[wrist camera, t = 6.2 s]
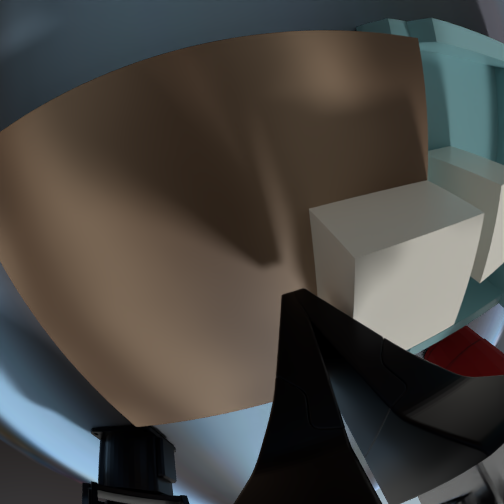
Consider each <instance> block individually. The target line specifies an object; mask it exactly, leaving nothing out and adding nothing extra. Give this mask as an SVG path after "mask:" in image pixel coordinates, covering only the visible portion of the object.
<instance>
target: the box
mask: <svg viewBox="0 0 504 504" xmlns="http://www.w3.org/2000/svg"><path fill="white" fill-rule="evenodd" d="M356 31H362V32H375V33H385V34H394V35H401V36H408V37H414V38H418V41H419V47H420V53H421V59H422V66H423V74H424V83H425V93H426V105H427V123H428V151H430V150H434V149H439V148H443V147H448V146H452V147H455V148H458V149H461V150H464V151H467V152H470V153H473V154H476V155H478V156H481V157H484V158H486V159H489V160H492V161H494V162H497V163H499V164H502V165H504V44H503V43H501V42H499V41H496V40H494V39H492V38H489V37H487V36H485V35H482V34H480V33H477V32H474V31H472V30H469V29H466V28H463V27H460V26H458V25H454V24H451V23H448V22H445V21H442V20H438V19H435V18H426V19H419V20H412V21H402V20H396V19H389V18H387V19H383V20H379V21H375V22H371V23H368V24H364V25H361V26H357V27H356ZM498 303H499V304H500V305H501V306H502V307H503V308H504V263H503V264H502V265H501V266H499V267H498V268H497V269H496V270H495V271H494V272H493V273H492V274H490V275H489V276H488V277H487V278H486V279H485V280H483V281H482V282H481V283H479V282H477V281H476V280H475V279H473V278H472V277H471V276H470V278H469V282H468V285H467V288H466V291H465V294H464V298H463V301H462V303H461V306H460V309H459V312H458V315H457V318H456V320H455V323H454V325H452V326H450V327H449V328H447V329H445V330H444V331H442V332H440V333H438V334H436V335H435V336H433V337H431V338H429V339H427V340H425V341H423V342H422V343H420V344H418V345H416V346H414V347H412V348H410V349H408V350H406V351H408V352H410V353H412V354H416V353H418V352H420V351H422V350H424V349H426V348H428V347H429V346H431V345H433V344H435V343H437V342H438V341H440V340H442V339H444V338H445V337H447V336H449V335H451V334H452V333H454V332H456V331H457V330H459V329H461V328H462V327H464V326H465V325H467V324H469V323H470V322H472V321H473V320H475V319H476V318H478V317H479V316H481V315H482V314H484V313H485V312H487V311H488V310H490V309H491V308H492V307H494V306H495V305H497V304H498Z"/></svg>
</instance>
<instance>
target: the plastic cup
mask: <svg viewBox="0 0 504 504" xmlns="http://www.w3.org/2000/svg"><path fill="white" fill-rule="evenodd" d="M424 359H425V360H427V361H429V362H431V363H433V364H436V365H438V366H440V367H442V368H444V369H447V370H449V371H451V372H453V373H456V374H459V375H462V376H467V377H484V376H497V375H504V354H503V353H502V352H501V351H500V350H498V349H497V348H496V347H495V346H493V345H492V344H491V343H490V342H488V341H487V340H486V339H483V338H482V337H480V336H479V335H478V334H477V333H475V332H474V331H473V330H472V329H470V328H469V327H468V326H464V327H462V328H461V329H459V330H457V331H456V332H454V333H452V334H451V335H449V336H447V337H445V338H444V339H442V340H440V341H438V342H437V343H435V344H433V345H431V346H430V347H429V348H428V350H427V352H426V354H425V357H424Z"/></svg>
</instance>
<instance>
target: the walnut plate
mask: <svg viewBox="0 0 504 504" xmlns="http://www.w3.org/2000/svg"><path fill="white" fill-rule="evenodd" d="M427 178H428V123H427V105H426V93H425V83H424V74H423V66H422V59H421V53H420V47H419V41H418V38H414V37H408V36H401V35H394V34H385V33H375V32H362V31H340V30H313V31H290V32H277V33H266V34H258V35H250V36H243V37H236V38H230V39H224V40H219V41H214V42H209V43H204V44H200V45H195V46H191V47H187V48H183V49H179V50H175V51H172V52H168V53H165V54H161V55H158V56H155V57H151V58H148V59H145V60H142V61H139V62H136V63H133V64H131V65H128V66H125V67H122V68H120V69H117V70H115V71H112V72H110V73H107V74H105V75H102V76H100V77H98V78H95V79H93V80H91V81H89V82H86V83H84V84H82V85H80V86H78V87H76V88H74V89H72V90H70V91H68V92H66V93H64V94H62V95H60V96H58V97H56V98H54V99H52V100H50V101H49V102H47V103H45V104H43V105H42V106H40V107H38V108H36V109H35V110H33V111H31V112H30V113H28V114H27V115H25V116H23V117H22V118H20V119H19V120H17V121H16V122H14V123H13V124H11V125H10V126H8V127H7V128H5V129H4V130H2V131H1V132H0V262H1V263H2V265H3V267H4V269H5V270H6V272H7V274H8V276H9V277H10V279H11V281H12V282H13V284H14V286H15V287H16V289H17V290H18V292H19V294H20V295H21V297H22V298H23V300H24V301H25V303H26V304H27V306H28V307H29V309H30V310H31V312H32V313H33V315H34V316H35V317H36V319H37V320H38V322H39V323H40V324H41V326H42V327H43V328H44V330H45V331H46V332H47V334H48V335H49V336H50V338H51V339H52V340H53V341H54V343H55V344H56V345H57V346H58V348H59V349H60V350H61V351H62V352H63V354H64V355H65V356H66V357H67V358H68V360H69V361H70V362H71V363H72V364H73V365H74V366H75V368H76V369H77V370H78V371H79V372H80V373H81V374H82V375H83V376H84V377H85V378H86V380H87V381H88V382H89V383H90V384H91V385H92V386H93V387H94V388H95V389H96V390H97V391H98V392H99V393H100V394H101V395H102V396H103V397H104V398H105V399H106V400H107V401H108V402H109V403H110V404H111V405H112V406H114V407H115V408H116V409H117V410H118V411H119V412H120V413H121V414H122V415H123V416H124V417H126V418H127V419H128V420H129V421H130V422H131V423H132V424H134V425H135V426H136V427H142V426H151V425H160V424H167V423H175V422H181V421H188V420H194V419H199V418H205V417H210V416H215V415H220V414H225V413H229V412H234V411H238V410H242V409H246V408H250V407H254V406H258V405H262V404H266V403H269V402H273V396H274V388H275V378H276V366H277V353H278V340H279V325H280V310H281V296H282V294H285V293H288V292H292V291H295V290H298V289H302V288H305V289H307V290H308V291H310V292H311V293H313V294H315V295H316V296H317V284H316V272H315V261H314V251H313V242H312V232H311V224H310V215H309V209H310V208H314V207H318V206H321V205H325V204H329V203H333V202H337V201H341V200H345V199H349V198H353V197H358V196H362V195H366V194H370V193H374V192H378V191H382V190H387V189H391V188H395V187H399V186H404V185H408V184H412V183H417V182H421V181H426V180H427Z"/></svg>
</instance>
